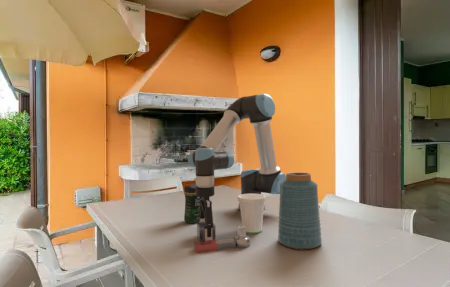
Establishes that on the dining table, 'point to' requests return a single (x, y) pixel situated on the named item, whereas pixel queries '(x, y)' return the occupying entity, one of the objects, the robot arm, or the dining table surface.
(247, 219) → the cup
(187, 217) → the coffee jar
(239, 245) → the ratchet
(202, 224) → the grey wooden cube
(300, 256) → the dining table surface
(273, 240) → the dining table surface
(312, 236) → the vase
